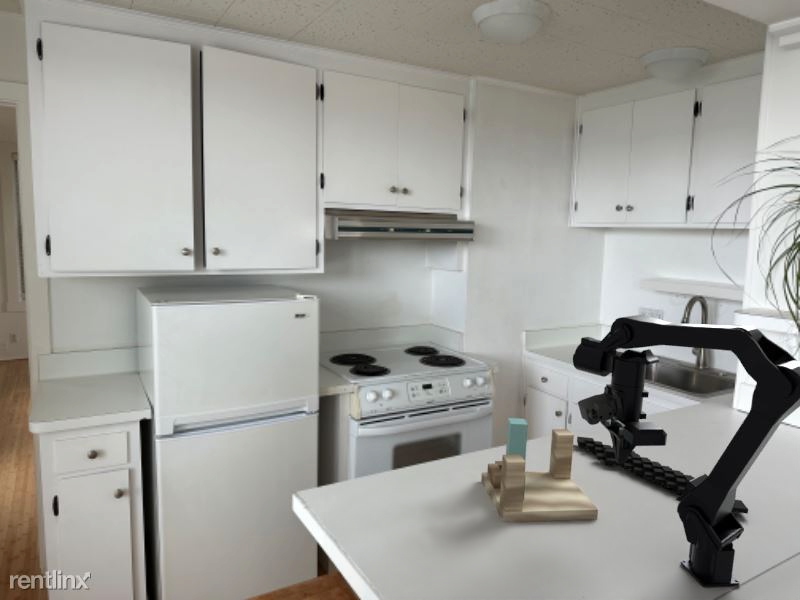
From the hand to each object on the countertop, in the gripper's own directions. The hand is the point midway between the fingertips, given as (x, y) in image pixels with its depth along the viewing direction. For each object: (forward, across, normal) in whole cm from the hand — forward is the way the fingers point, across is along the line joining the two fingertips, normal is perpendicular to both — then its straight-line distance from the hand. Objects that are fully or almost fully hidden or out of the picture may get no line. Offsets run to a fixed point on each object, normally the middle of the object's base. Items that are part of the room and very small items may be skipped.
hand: (620, 462), depth 105 cm
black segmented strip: (+14, -20, +19) cm, 31 cm away
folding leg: (+10, -13, -16) cm, 23 cm away
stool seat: (+13, -12, -12) cm, 21 cm away
